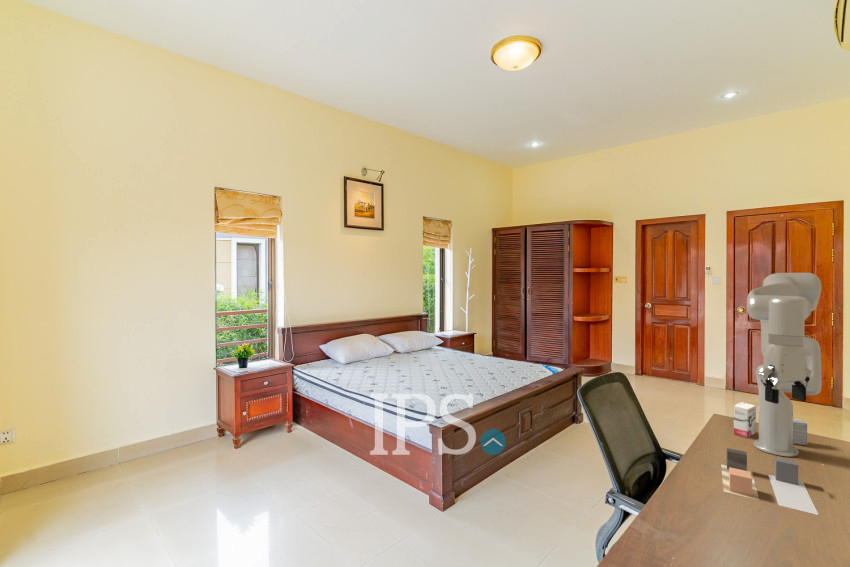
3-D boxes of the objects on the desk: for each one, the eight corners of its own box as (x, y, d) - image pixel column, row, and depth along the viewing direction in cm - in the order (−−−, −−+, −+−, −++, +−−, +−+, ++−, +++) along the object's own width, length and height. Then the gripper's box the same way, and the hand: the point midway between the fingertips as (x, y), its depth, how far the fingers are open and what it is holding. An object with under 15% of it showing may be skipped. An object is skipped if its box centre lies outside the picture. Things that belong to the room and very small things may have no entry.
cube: (728, 483, 119) (729, 467, 119) (750, 488, 116) (750, 471, 116) (729, 490, 115) (730, 473, 115) (751, 496, 112) (752, 478, 112)
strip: (768, 478, 124) (768, 456, 124) (802, 486, 120) (803, 462, 119) (778, 509, 108) (778, 483, 108) (818, 519, 103) (819, 492, 103)
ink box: (748, 438, 155) (748, 408, 155) (733, 434, 159) (733, 405, 159) (756, 433, 160) (756, 404, 159) (741, 429, 164) (741, 401, 164)
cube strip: (721, 468, 131) (721, 446, 131) (751, 474, 126) (752, 452, 126) (723, 495, 115) (723, 471, 115) (759, 504, 110) (759, 479, 110)
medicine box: (800, 441, 152) (800, 419, 152) (807, 445, 148) (807, 423, 148) (775, 438, 155) (775, 416, 154) (781, 443, 150) (781, 420, 150)
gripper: (794, 337, 116) (794, 395, 116) (747, 340, 112) (747, 399, 113) (825, 341, 109) (824, 403, 109) (776, 344, 105) (775, 407, 105)
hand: (785, 401), depth 111 cm, fingers open, 9 cm apart
